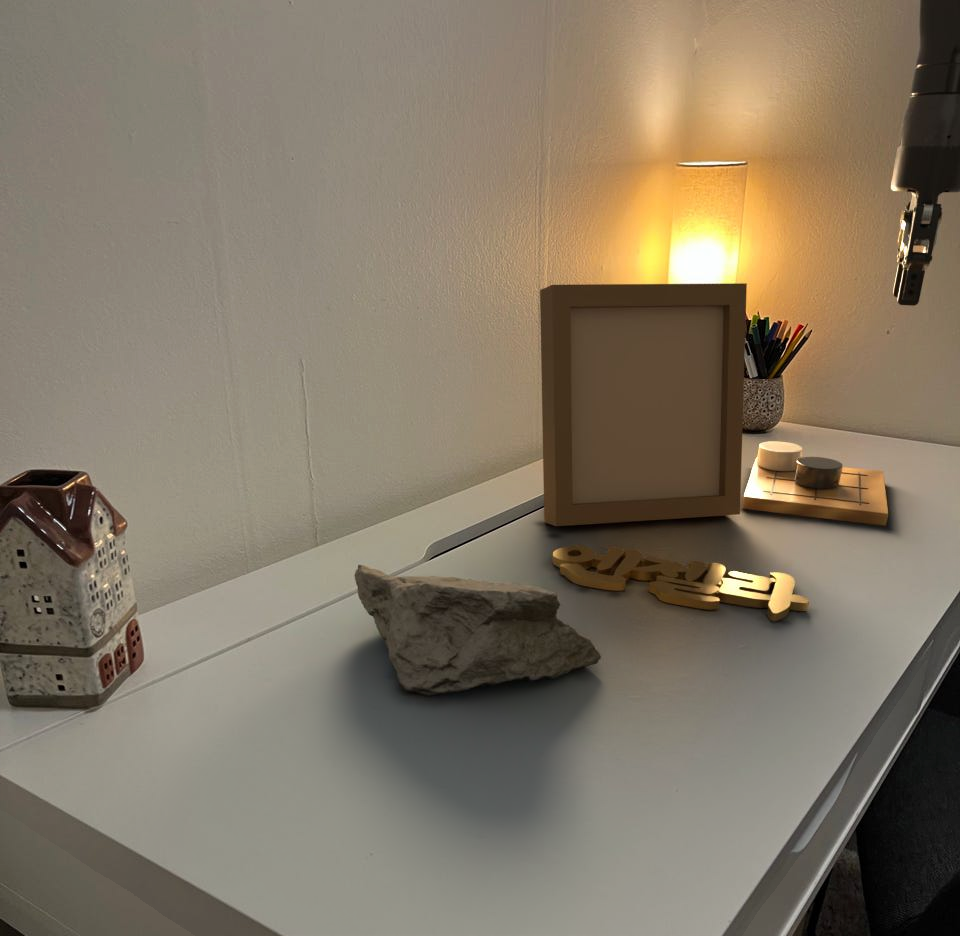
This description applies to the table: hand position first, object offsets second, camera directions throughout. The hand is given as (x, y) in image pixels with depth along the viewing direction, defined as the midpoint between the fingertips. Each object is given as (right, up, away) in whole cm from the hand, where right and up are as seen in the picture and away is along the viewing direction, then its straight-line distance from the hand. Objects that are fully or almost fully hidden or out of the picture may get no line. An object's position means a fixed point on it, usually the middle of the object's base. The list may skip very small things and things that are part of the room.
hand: (904, 301), depth 111 cm
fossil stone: (-51, -41, -33) cm, 74 cm away
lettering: (-31, -34, -19) cm, 49 cm away
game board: (-8, -21, +7) cm, 24 cm away
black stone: (-8, -20, +7) cm, 23 cm away
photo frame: (-32, -24, +2) cm, 40 cm away
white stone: (-11, -17, +13) cm, 24 cm away
